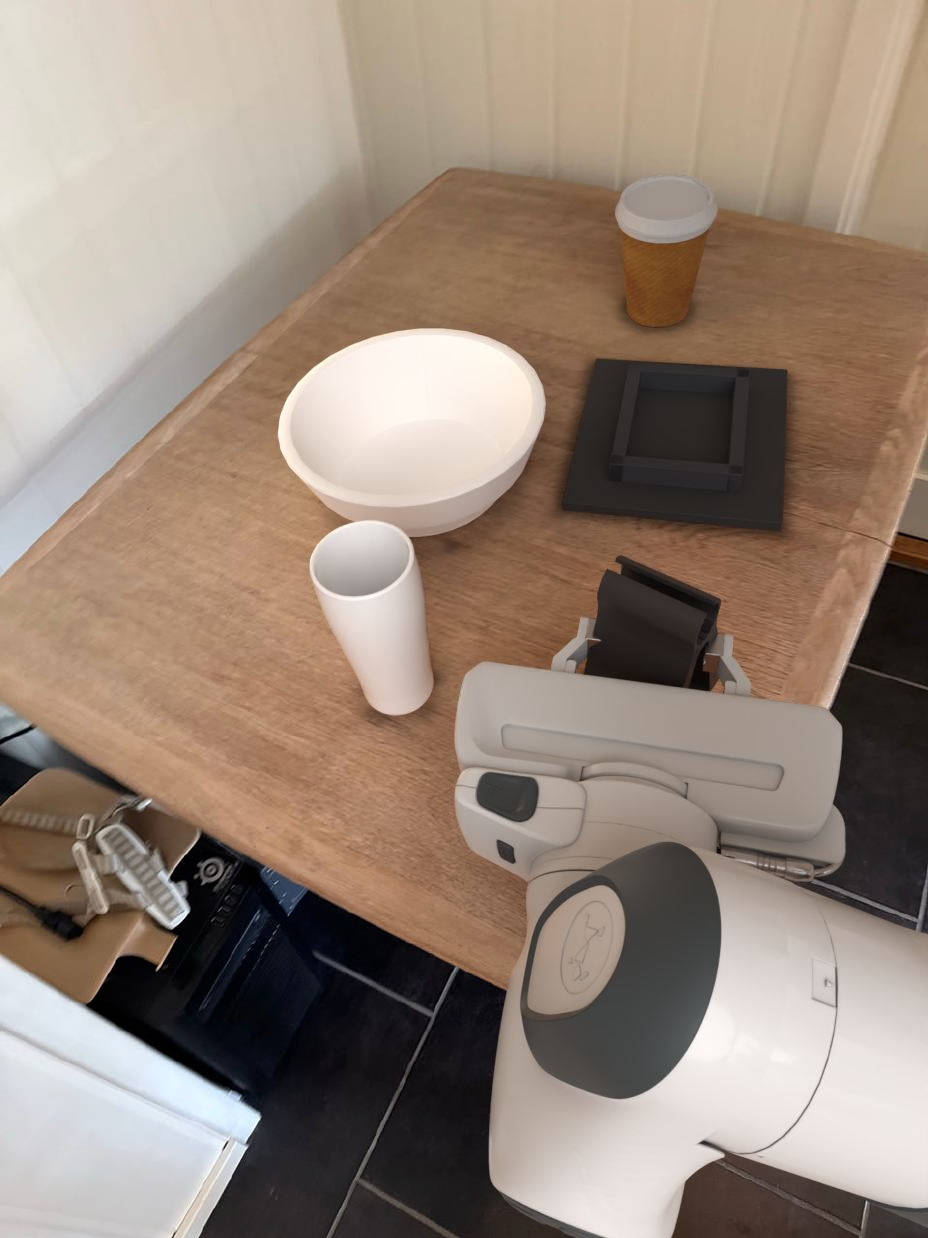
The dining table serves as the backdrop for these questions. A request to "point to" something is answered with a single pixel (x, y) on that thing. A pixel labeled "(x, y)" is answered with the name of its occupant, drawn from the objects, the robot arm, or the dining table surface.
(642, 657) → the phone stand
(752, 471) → the dock pad
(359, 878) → the dining table surface
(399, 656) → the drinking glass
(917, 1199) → the robot arm
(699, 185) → the disposable coffee cup
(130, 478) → the dining table surface
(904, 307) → the dining table surface
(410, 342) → the bowl
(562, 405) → the dining table surface
